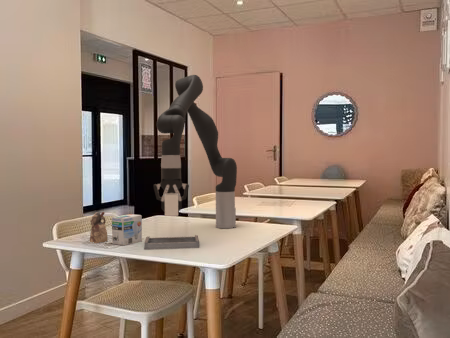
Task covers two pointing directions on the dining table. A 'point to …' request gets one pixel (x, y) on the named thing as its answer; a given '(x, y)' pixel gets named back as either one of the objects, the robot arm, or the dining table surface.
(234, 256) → the dining table surface
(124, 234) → the light bulb box
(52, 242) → the dining table surface
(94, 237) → the figurine
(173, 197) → the block
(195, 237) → the grey flat rectangular frame
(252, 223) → the dining table surface
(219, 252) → the dining table surface
